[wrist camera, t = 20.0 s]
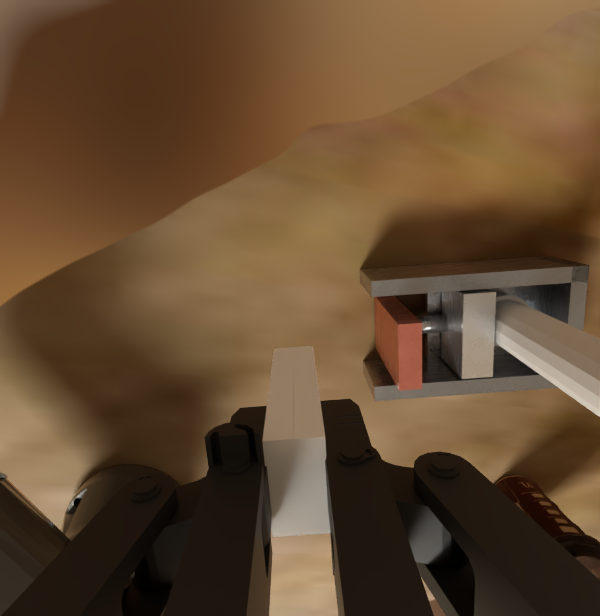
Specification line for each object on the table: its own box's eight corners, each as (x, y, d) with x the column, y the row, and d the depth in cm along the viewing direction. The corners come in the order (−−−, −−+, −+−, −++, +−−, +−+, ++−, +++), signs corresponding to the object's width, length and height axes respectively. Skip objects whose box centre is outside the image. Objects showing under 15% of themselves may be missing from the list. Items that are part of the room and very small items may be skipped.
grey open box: (363, 373, 49) (374, 400, 43) (359, 269, 47) (371, 281, 40) (538, 360, 49) (577, 386, 43) (545, 255, 46) (589, 265, 40)
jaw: (376, 358, 49) (399, 403, 38) (373, 285, 47) (397, 310, 36) (464, 351, 49) (513, 394, 38) (466, 278, 47) (518, 302, 36)
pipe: (489, 349, 48) (792, 581, 19) (453, 310, 47) (717, 492, 18) (529, 315, 47) (912, 503, 18) (493, 274, 46) (842, 405, 17)
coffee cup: (486, 533, 55) (543, 633, 42) (468, 480, 53) (523, 568, 41) (553, 512, 54) (631, 606, 42) (538, 457, 53) (615, 539, 40)
